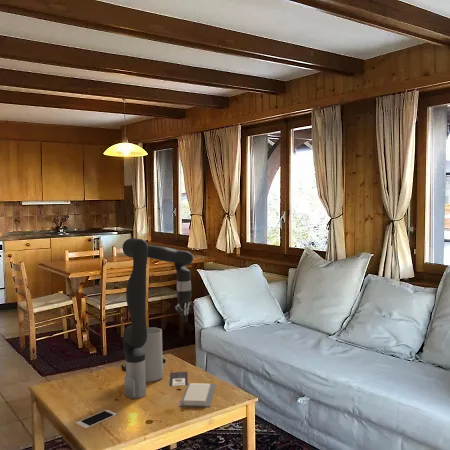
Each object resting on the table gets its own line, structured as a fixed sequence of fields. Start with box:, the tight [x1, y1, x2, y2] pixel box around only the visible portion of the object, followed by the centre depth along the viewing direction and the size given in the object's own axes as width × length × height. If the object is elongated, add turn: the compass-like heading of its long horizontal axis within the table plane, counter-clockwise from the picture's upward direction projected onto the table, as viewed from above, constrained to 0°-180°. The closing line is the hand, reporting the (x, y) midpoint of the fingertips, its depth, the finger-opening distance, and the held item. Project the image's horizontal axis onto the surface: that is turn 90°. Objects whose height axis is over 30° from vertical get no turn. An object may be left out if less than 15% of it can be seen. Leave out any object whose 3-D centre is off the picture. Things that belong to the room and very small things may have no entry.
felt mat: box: [178, 382, 217, 408], centre depth 237 cm, size 26×14×1 cm, turn 175°
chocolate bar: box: [169, 371, 189, 387], centre depth 257 cm, size 9×1×18 cm
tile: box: [183, 382, 211, 406], centre depth 234 cm, size 2×10×20 cm
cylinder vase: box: [141, 327, 164, 383], centre depth 259 cm, size 12×12×25 cm
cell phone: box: [75, 409, 118, 429], centre depth 214 cm, size 8×16×1 cm, turn 140°
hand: (184, 321), depth 260 cm, fingers closed
